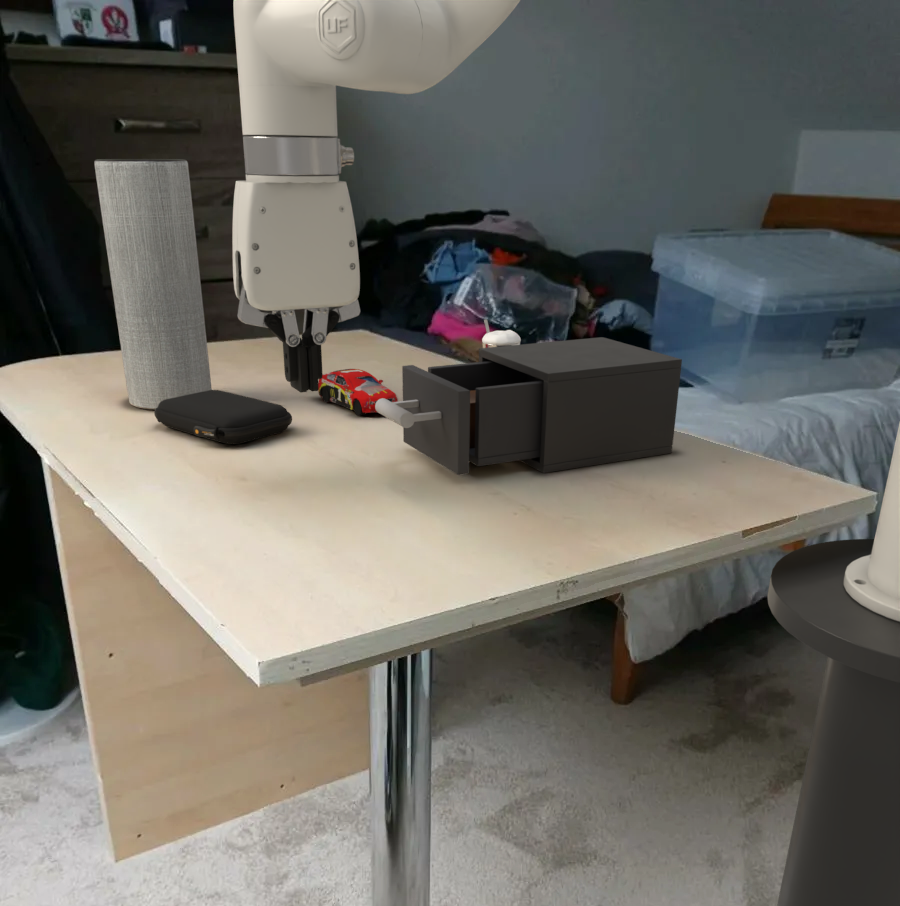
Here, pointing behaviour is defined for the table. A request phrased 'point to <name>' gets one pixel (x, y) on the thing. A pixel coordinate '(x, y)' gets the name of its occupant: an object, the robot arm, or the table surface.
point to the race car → (354, 390)
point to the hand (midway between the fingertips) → (304, 388)
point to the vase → (154, 277)
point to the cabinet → (597, 399)
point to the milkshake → (499, 338)
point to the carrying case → (223, 416)
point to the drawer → (448, 413)
